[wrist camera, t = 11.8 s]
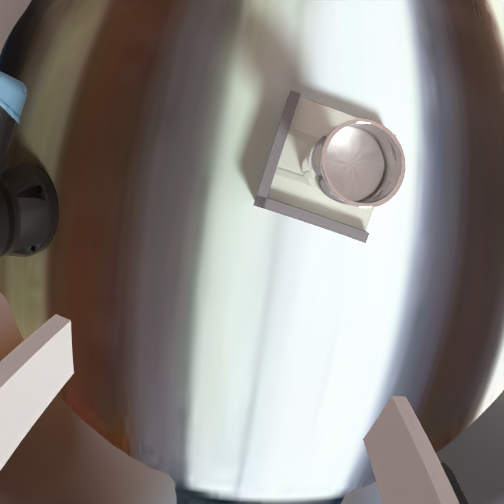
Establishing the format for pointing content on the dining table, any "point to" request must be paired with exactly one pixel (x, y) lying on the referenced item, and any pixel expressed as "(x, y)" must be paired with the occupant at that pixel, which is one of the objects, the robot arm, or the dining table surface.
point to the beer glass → (355, 163)
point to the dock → (291, 176)
